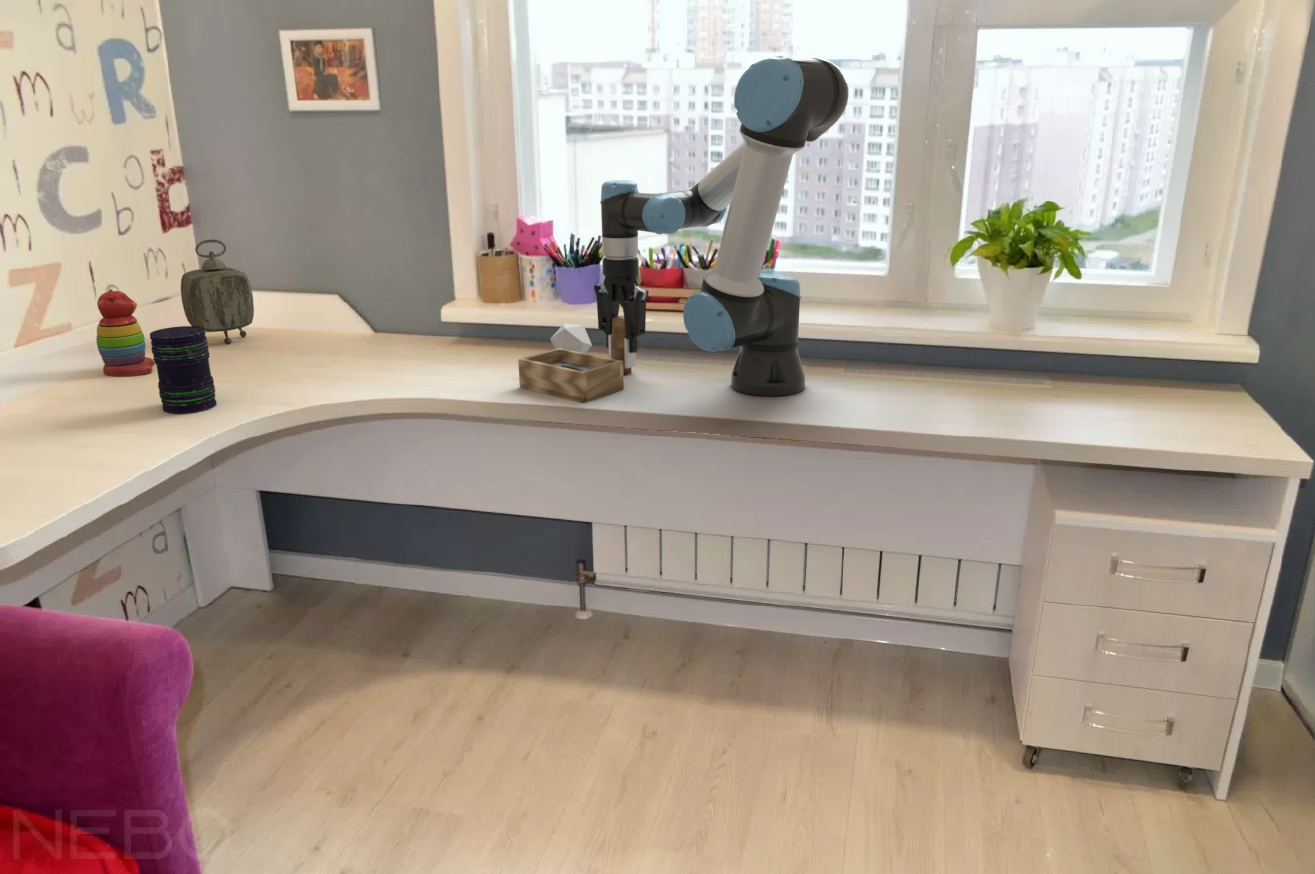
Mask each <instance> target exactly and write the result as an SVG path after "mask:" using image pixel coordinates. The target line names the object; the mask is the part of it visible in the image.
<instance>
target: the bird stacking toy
mask: <svg viewBox="0 0 1315 874" xmlns="http://www.w3.org/2000/svg"><path fill="white" fill-rule="evenodd" d="M96 304H97V309H98V311H99V313H100V315H101V316H102V318H101V319H99V322H98V324H97V327H96V346H97V351H98V353H99V355H100V358H101V359H102V362H103V363H104V365H103V369H102V372H103V374H104V375H106V376H110V377H111V376H112V377H136V376H145V375H148V374H151V373H152V372H153V368H152V367H153V366H155V363H154V360H153V358H152V357H147V356H146V348H147V347H146V341H145V340H146V338H145V335H144V332H143V330H142V328H141V325H140V323H139V321H138V319H137V318H136V317H135V316H134V315H133V314H134V312H135V311H136V310H137V306H138V304H137V301H136V300H134V299H131V298H130V297H129V296H128V295H127V294H126V293H124V292H123V291H120V290H113V289H111V288H110V289H108V291H106V292H103V294H101V295H100V296H99V297H98V299H97V303H96Z"/></svg>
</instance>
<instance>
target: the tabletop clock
mask: <svg viewBox="0 0 1315 874" xmlns="http://www.w3.org/2000/svg"><path fill="white" fill-rule="evenodd" d="M207 243H217V244H220V245H222V247H223V250H222V251H221V252H217V253H214V251H212V250H211V251H209V252H208V254H202V253H200V252H199V251H198V250H199V248H200V246H201V245H203V244H207ZM194 249H195V253H196V254H197V255H198V256H199V257H201V258H205V259H206V260H204V262H203V263H202V264H201V265H202V266H201V268H200V269H194V270H189V271H188V272H185V273H184V274H182V276H181V279H180V297H181V302H182V303H181V304H182V308H183V311H184V315H185V317H186V320H187V323H189V326H197V327H203V328H205V332H206V333H214V332H215V333H216V332H219V333H220V332H223V334H224V336H225V338H224V339H223V342H224V344H226V345H230V344H231V343H232V339H231V338H230V337H229V334H228V332H229V331H232V330H239V336H240V338H246V336H247V332H246V330H243V328H246V327H247V326H249V325H251V324H252V323H253V321H254V314H255V307H254V296H253V291H252V286H251V283H250V281H249V277H248V276H247V274H246V272H243V271H241V270H237V269H235V268H231V267H227V266H226V265H225V264H224V262H223V261H222V260H220V259H219V258H218V257H220V256H222V255H224V254H225V253H226V251H227V247H226V244H225V243H224V242H222V241H221V240H218V239H212V238H211V239H205V240H202V241H200V242H198V244H196V246H195V248H194Z"/></svg>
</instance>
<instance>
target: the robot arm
mask: <svg viewBox="0 0 1315 874" xmlns="http://www.w3.org/2000/svg"><path fill="white" fill-rule="evenodd" d="M733 97H734V98H733V105H734V108H735V109H736V112H735V114H736V117H737V119H738V121H739V122H740V127H739V134H740V135H741V137H742V138H743V140H744V141H743V142H741V144H739V145H738V146H737V147H736V148H734V150H733V151H732V152H731V153H729V154H728V155H727V156H726V157H725V158H724V159H722V161H721V162H719V164H717V165H716V166H715V167H714V168H713V169H712V170H711V171H709V172H708V173H707V174H706V175H705V176H704V177H703V178H702V179H701V180H699V182H697V183H696V184H695V185H694V186H693V187H691V188H690V189H688V190H687V189H686V190H681V191H680V190H678V191H671V192H670V191H669V192H668V191H667V192H659V193H646V192H639V189H638V183H637V182H635V180H634V181H633V180H627V179H626V180H624V179H621V180H608V181H607V180H606V181H605V182H603V183H602V184H601V189H600V190H601V191H600V192H601V193H600V212H601V216H600V217H601V253H602V254H601V255H603V258H602V261H601V263H602V275H603V276H604V279H603V282H602V283H598V284H594V286H593V290H594V293H595V296H596V311H597V324H598V325H597V327H598V330H599V331H603V332H604V334H605V336H606V337H605V339H606V343H605V344H606V345H605V346H606V349H608V358H611V359H613V344H612V317H615V316H619V312H620V307H622V311H623V316H624V319H625V325H626V331H627V336H625V338H624V352H625V368H630V367H631V368H633V367H636V353H637V352H638V339H639V337H641V336H644V335H645V334H646V326H647V325H646V324H647V323H646V321H647V320H646V318H647V317H646V316H647V301H648V295H649V290H648V289H642V287H640V286H639V283H638V280H637V277H638V275H639V258H638V257H637V256H638V254H639V238H638V237H639V232H638V231H641V232H647V233H654V234H656V235H663V234H664V235H671V234H675V233H676V232H678V231H679V230H682V229H683V230H684V229H689V228H697V227H709V226H711V225H714V224H718V223H720V222H721V221H722V220H723V219H724V217H725V213H726V212H727V207H728V206H729V208H728V212H727V216H726V220H725V223H724V224H725V225H724V228H723V231H722V232H723V233H722V235H721V239H720V245H719V248H718V252H717V255H716V259H715V265H714V267H712V268H711V269H709V270H707V271H705V273H704V275H703V279H702V283H701V286H700V291H696V292H693V294H692V295H690V296H689V297H688V298H687V299H686V300H685V303H684V305H683V311H682V316H683V317H682V318H683V324H684V327H685V329H686V331H687V333H688V336H689V338H690V340H691V341H692V342H693V343H694V344H695V345H696V346H698V347H699V348H700V349H702V350H703V351H707V352H711V353H712V352H715V353H716V352H720V351H723V352H724V351H726V352H727V351H728V350H730V349H733V348H736V347H740V349H739V352H738V355H737V358H736V360H735V364H734V367H733V369H732V372H731V376H730V379H731V380H730V381H731V382H730V385H731V386H730V387H731V388H732V389H733V390H735V391H737V392H739V393H742V394H746V395H754V396H759V397H760V396H761V397H762V396H763V397H780V396H789V395H793V394H797V393H800V392H802V391H803V390H804V389H805V388H806V387H805V386H806V375H805V373H804V368H803V365H802V362H801V358H800V354H799V349H798V347H799V328H800V325H799V323H800V310H801V309H800V306H801V305H800V303H801V300H802V298H801V297H802V296H801V285H800V281H799V280H798V279H797V278H795V277H793V276H789V275H782V274H781V275H780V274H771V273H763V272H762V269H763V264H764V261H765V257H766V254H767V251H768V246H769V243H770V239H771V236H772V233H773V232H772V231H773V229H774V225H775V220H776V217H777V214H778V211H779V206H780V204H781V199H782V197H783V192H784V189H785V184H786V181H787V177H788V174H789V171H790V166H791V163H792V159H793V156H794V155H795V154H797V152H799V151H801V150H803V149H804V148H805V145H806V143H812V142H815V141H816V140H818V139H819V138H820V137H821V136H822V135H824V134H825V133H826V132H827V131H829V130H830V129H831V128H832V127H833V126H835V124H836V123H837V122H838V121H839V120H840V119H841V117H842V116H843V114H844V112H845V110H846V108H847V105H848V100H849V86H848V80H847V78H846V76H845V74H844V73H843V71H842V70H841V68H839V66H837V65H836V64H834V63H833V62H831V61H830V60H827V59H824V58H817V57H816V58H815V57H814V58H813V57H812V58H809V57H808V58H806V57H805V58H804V57H790V56H789V57H788V56H783V55H780V56H773V57H765V58H761V59H758V60H756V61H755V62H753V63H752V64H750V65H749V66H747V68H746V69H745V70H744V71H743V73H742V74H741V75H740V77H739V80H738V82H737V84H736V86H735V90H734V96H733Z"/></svg>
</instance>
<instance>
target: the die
mask: <svg viewBox="0 0 1315 874" xmlns="http://www.w3.org/2000/svg"><path fill="white" fill-rule="evenodd" d="M550 342H551V344H552V347H553V350H554V349H557V348H562V349H567V350H572V351H577V352H581V353H586V354H587V352H588V350H590V349H591V347H592V346H593V345H592V342H591V340H590V337H589V334H588V333H587V330H586V328H585V325H584V324H582V325H581V324H572V323H563V324H562V325H561V326H560V327H559V328H558V330H557V331H556V332H555V333H554V334H553V335H552V336H551V337H550Z"/></svg>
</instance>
